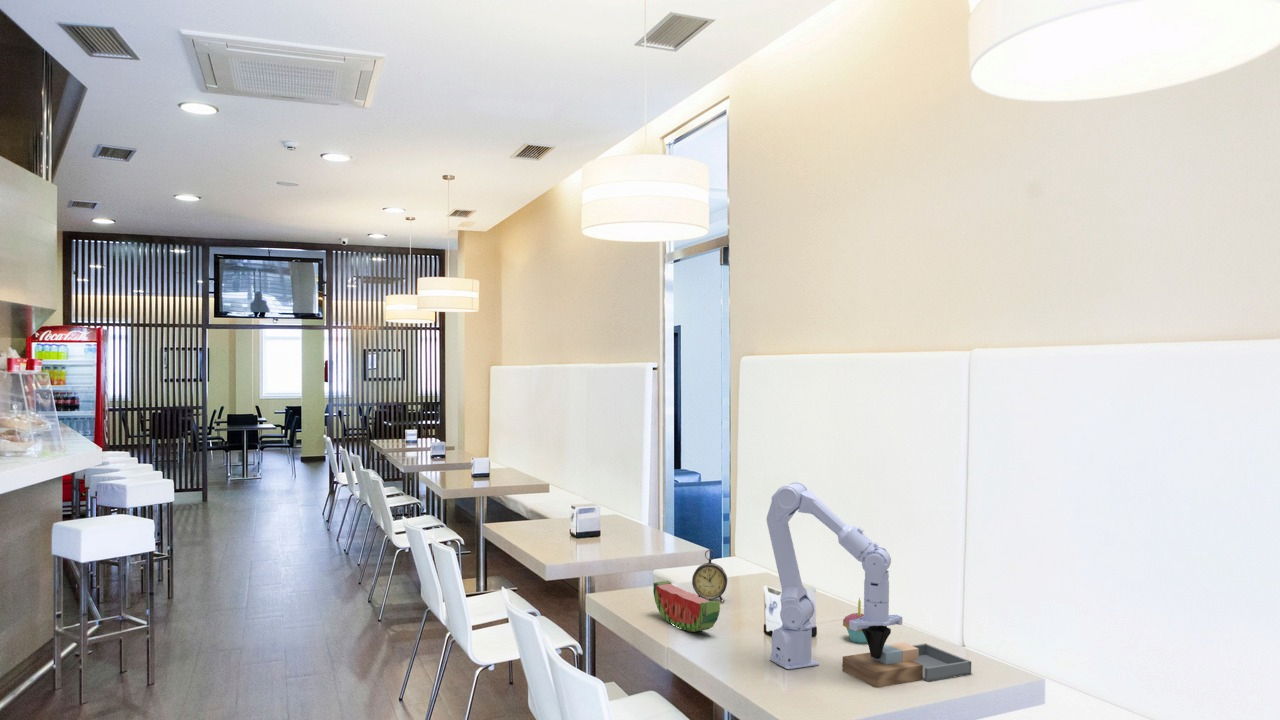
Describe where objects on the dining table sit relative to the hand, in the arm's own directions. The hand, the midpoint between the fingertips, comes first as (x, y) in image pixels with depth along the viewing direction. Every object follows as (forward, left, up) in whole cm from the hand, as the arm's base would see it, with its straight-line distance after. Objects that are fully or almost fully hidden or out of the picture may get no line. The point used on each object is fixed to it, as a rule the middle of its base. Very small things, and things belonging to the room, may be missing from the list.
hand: (875, 657), depth 197 cm
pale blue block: (+3, 0, -1) cm, 4 cm away
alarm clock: (-3, +74, -5) cm, 74 cm away
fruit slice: (-24, +52, -5) cm, 57 cm away
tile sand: (+8, 0, -1) cm, 9 cm away
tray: (+16, 0, -4) cm, 17 cm away
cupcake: (+15, +24, -5) cm, 29 cm away
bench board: (+2, 0, -4) cm, 5 cm away
